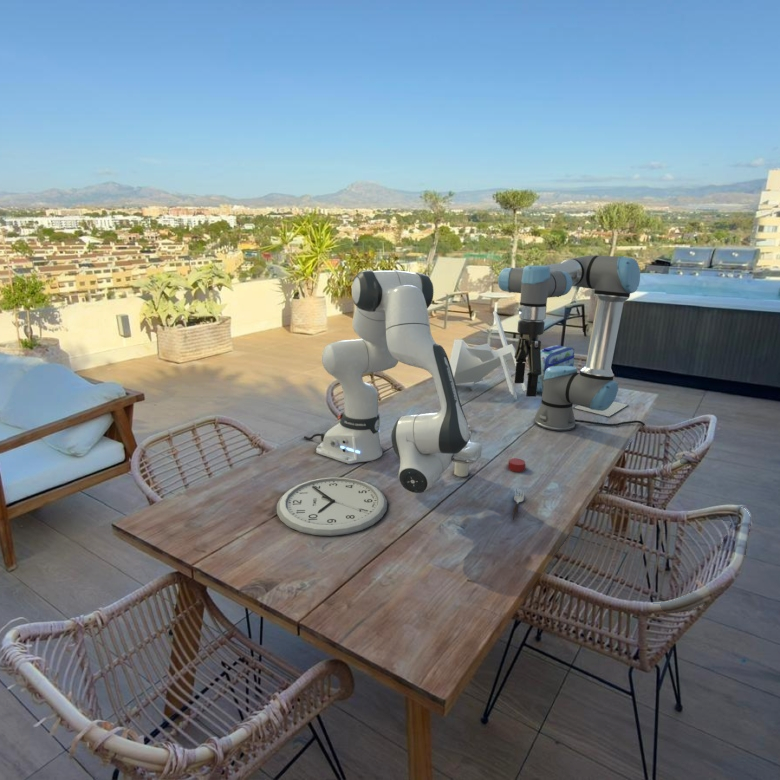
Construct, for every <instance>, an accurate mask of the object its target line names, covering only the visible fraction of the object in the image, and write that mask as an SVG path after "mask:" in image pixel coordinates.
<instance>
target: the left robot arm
mask: <svg viewBox="0 0 780 780" xmlns="http://www.w3.org/2000/svg"><path fill="white" fill-rule="evenodd" d="M434 290H435V289H434V284H433V281H432V279H431V278H430V277H429V276H428V275H426V274H424V273H420V272H410V271H404V270H374V271H373V270H372V269H368V270H363V271H359V272H358V273H357V274H356V275H355V276H354V279H353V281H352V285H351V296H352V302H353V304H354V305H355V309H354V314H353V317H352V322H351V325H352V329H353V332H354V333H355V334H356V335H357V336H358V337H359V338H358V339H345V340H339V341H338V340H337V341H335V342H332V343H329V344H326V346H325V347H324V349H323V350H322V352H321V353H322V354H321V364H322V366H323V369H324V370H325V371H326V372H327V373H328V374H329V375H330V376H332V377H333V378H334V379H335V380H337V382H338V383H339V385H340V387H341V389H342V393H343V404H344V411H342V412H341V413H340V414H339V415H338V416H337V420H340V421H339V422H338V423H336V424H335V425H334V426H332V427H331V428H329V429H327V430H326V431H323V432H321V433H315V434H313V435H312V436H309V437H308V436H305V435H304V437H303V439H305V440H307V441H310V440H313V439H314V438H315V437H320V441H321V443H320V444H318V445H317V446H316V449H315V453H316V454H318V455H321V456H324V457H326V458H330V459H332V460H336V461H339V462H342V463H344V464H347V465H352V464H356V463H363V462H364V463H365V462H371V461H375V460H378V459H380V458H381V457H382V455H383V454H384V452H383V449H382V445H381V440H380V427H381V426H380V425H381V423H380V422H381V419H380V417H381V416H380V412H379V392H378V389H377V387H375V386H374V385H372V384H371V383H368V382H366V381H364V380H363V375H364V374H370V373H371V374H372V373H378V372H379V373H381V372H384V371H388V370H391V369H393V368H396V367H397V365H398V363H401V364H404V365H407V366H410V367H415V368H419V369H423V370H425V371H427V372H428V373H429V374H430V375H431V376H432V379H433V381H434V385H435V389H436V390H435V391H436V393H437V397H438V401H439V405H440V410H439V411H437V412H436V411H435V412H427V413H417V414H408V415H401V416H400V417H399V418H398V419H397V420H396V422H395V424H394V425H393V428H392V430H391V435H390V438H391V439H390V440H391V445H392V449H393V451H394V453H395V455H396V457H397V458H398V460H399V470H398V480H399V483H400V485H401V486H402V488H404V489H405V490H406V491H408V492H410V493H414V494H422V493H425V492H427V491H429V490H430V489H431V488H433V486H435V485H436V483H437V482H438V481H439V480H440V479H441V477H442V474H444V473H445V471H446V470H447V469H448V468H449V467H450V465H451V464H452V462H453V463H455V462H458V463H463V464H469V465H473V464H475V463H476V462H477V461H478V460H479V459H480V458H481V457H482V451H483V450H482V448H483V447H482V444H480V442H476V441H470V433H469V427H468V425H469V423H468V421H467V418H466V414H465V413H464V409H463V407H462V404H461V399H460V396H459V392H458V389H457V384H455V380H454V377H453V373H452V369H451V366H450V363H449V361H450V359H449V356H448V354H447V351H446V350H445V349H444V347H443V346H442V345H440V344H439V343H438V344H437V342H436V341H435V339H434V338H433V335H432V331H431V324H430V322H431V321H430V316H429V310H428V309H429V307H430V306H431V304H432V303H433V300H434V293H435V292H434Z"/></svg>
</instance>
